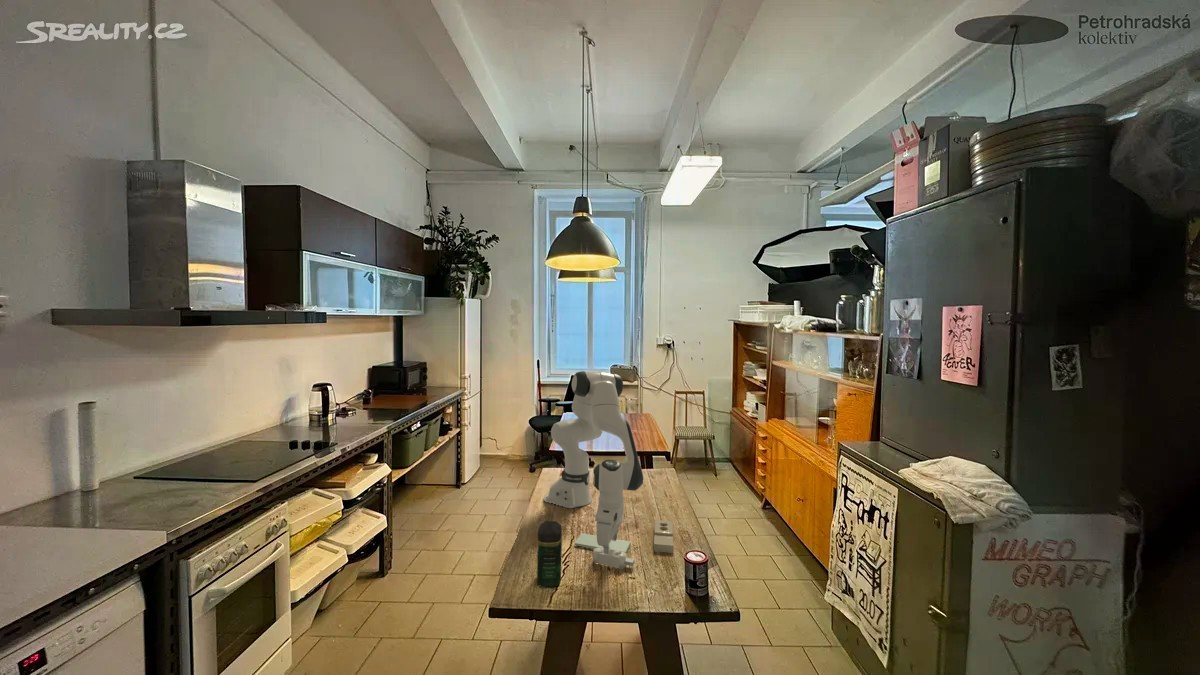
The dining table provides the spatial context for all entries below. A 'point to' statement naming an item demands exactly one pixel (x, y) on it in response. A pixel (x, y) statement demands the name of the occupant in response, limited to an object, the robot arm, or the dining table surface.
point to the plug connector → (612, 558)
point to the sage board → (591, 542)
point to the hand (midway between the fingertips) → (610, 546)
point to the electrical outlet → (663, 536)
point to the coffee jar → (549, 554)
